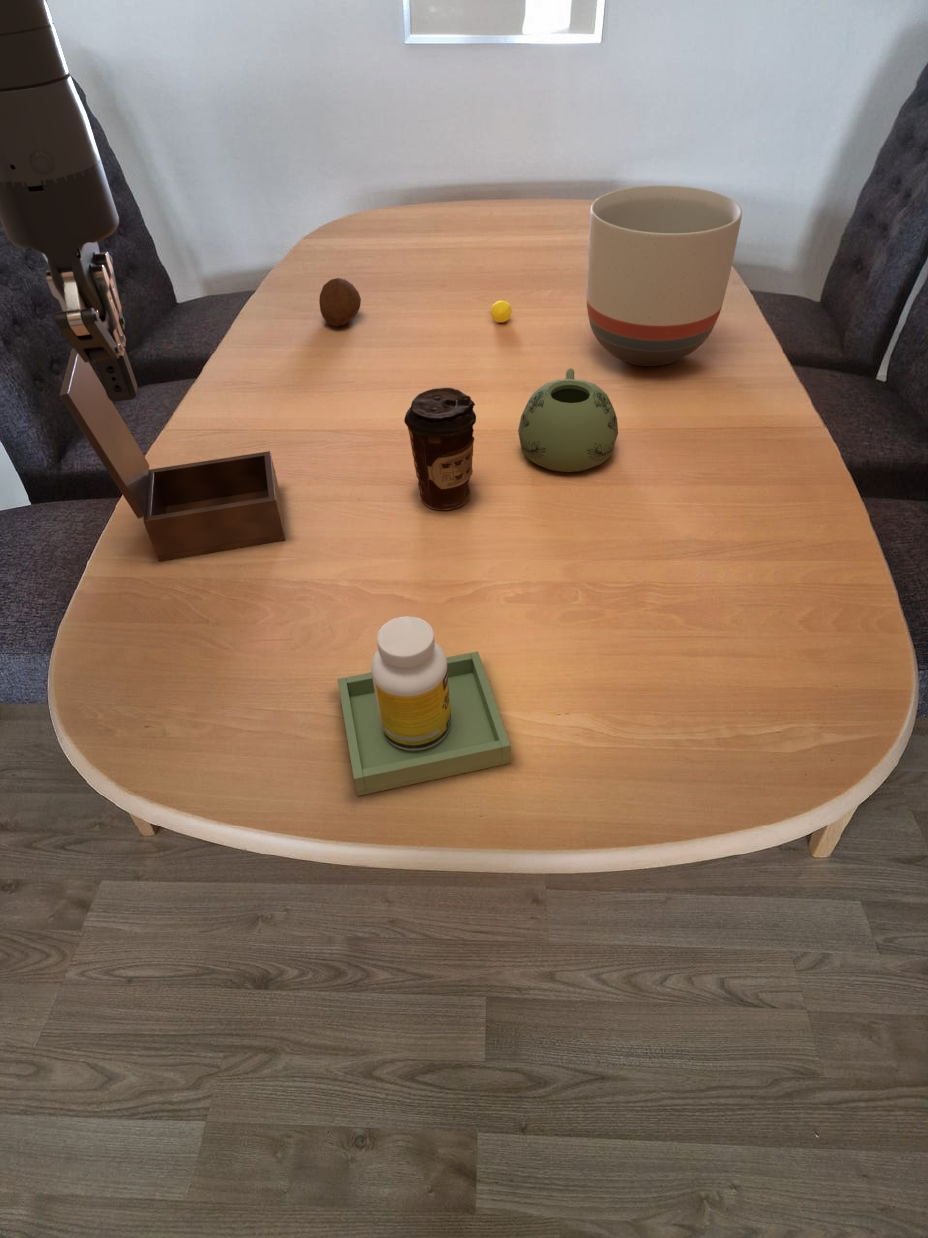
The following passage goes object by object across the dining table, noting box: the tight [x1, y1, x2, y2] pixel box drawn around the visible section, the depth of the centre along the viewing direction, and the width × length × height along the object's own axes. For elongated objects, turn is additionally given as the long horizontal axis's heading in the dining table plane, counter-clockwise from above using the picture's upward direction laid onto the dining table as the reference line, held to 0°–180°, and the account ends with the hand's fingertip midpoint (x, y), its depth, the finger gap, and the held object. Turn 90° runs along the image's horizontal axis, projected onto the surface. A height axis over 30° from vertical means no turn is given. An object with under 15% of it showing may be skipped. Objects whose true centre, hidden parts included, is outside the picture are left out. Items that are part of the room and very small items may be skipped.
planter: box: [585, 184, 743, 367], centre depth 118 cm, size 20×20×21 cm
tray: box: [336, 651, 512, 797], centre depth 73 cm, size 14×12×3 cm
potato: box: [318, 277, 362, 327], centre depth 136 cm, size 7×10×7 cm
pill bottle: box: [370, 615, 451, 751], centre depth 70 cm, size 6×6×12 cm
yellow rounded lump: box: [490, 300, 513, 323], centre depth 136 cm, size 3×6×4 cm, turn 2°
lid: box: [59, 347, 150, 519], centre depth 87 cm, size 16×11×1 cm
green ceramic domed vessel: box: [517, 367, 619, 473], centre depth 105 cm, size 16×13×9 cm
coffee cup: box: [403, 387, 477, 511], centre depth 96 cm, size 9×8×13 cm
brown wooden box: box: [142, 450, 286, 562], centre depth 96 cm, size 15×11×6 cm
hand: (124, 396), depth 66 cm, fingers closed
